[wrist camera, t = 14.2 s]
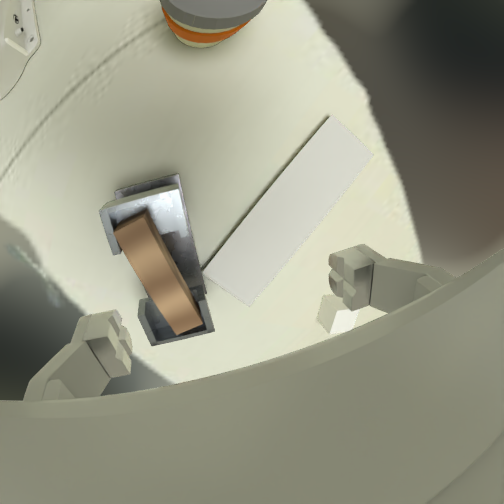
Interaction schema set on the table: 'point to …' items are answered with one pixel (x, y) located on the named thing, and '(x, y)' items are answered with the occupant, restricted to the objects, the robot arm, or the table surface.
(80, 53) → the table surface
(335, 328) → the white cube
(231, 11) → the reusable coffee cup
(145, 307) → the bracket stand
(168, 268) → the rail
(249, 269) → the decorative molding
